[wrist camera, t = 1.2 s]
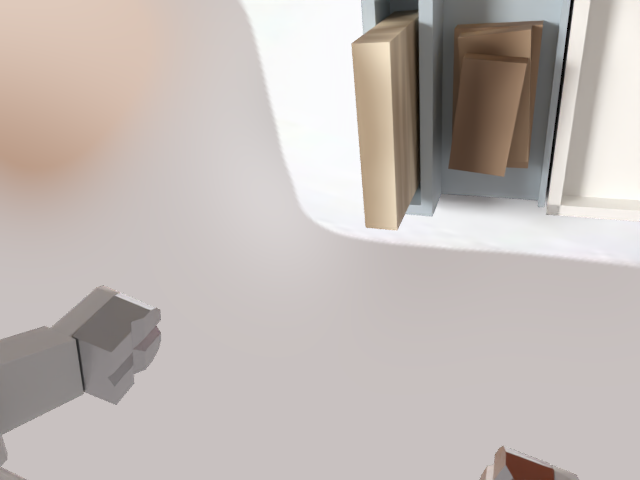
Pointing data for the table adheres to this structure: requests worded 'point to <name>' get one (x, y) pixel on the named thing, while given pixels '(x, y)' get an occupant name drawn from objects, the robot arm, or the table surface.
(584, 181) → the tray
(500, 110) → the offcut
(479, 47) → the offcut
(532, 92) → the offcut
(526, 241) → the table surface
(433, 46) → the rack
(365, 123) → the maple sheet
